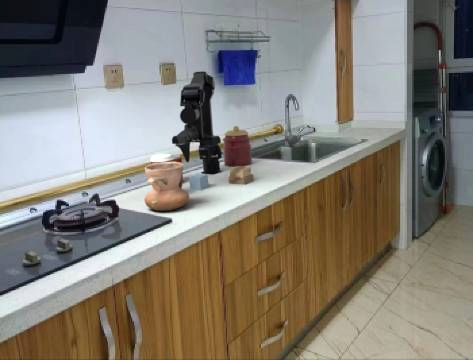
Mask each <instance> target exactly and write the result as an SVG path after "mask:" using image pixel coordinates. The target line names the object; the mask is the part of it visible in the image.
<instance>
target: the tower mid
mask: <svg viewBox="0 0 473 360" xmlns="http://www.w3.org/2000/svg"><path fill="white" fill-rule="evenodd" d="M251 167H252V166H233V167H231V168H229V171H228V173H229V177H238V178H244V177H246V176H249V175H251V174H252V168H251Z"/></svg>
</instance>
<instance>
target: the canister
mask: <svg viewBox="0 0 473 360" xmlns="http://www.w3.org/2000/svg"><path fill="white" fill-rule="evenodd" d="M249 134H250V133H249V132H248V131H246V130H245V129H240V127H239V126H237V125H234V126H233V127H232V130H227V131H226V132H225V133H224V134H223V136H224V137H223V138H222V141H223V147H222V148H223V163H224V166H227V167H237V166H242V167H245V166H248V165H251V164H252V162H253V161H252V160H253V159H252V157H253V156H252V144H251V141H250V140H251V139H252V138H251V136H249Z"/></svg>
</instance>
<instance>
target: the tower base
mask: <svg viewBox="0 0 473 360" xmlns="http://www.w3.org/2000/svg"><path fill="white" fill-rule="evenodd" d="M254 181H255V179H254V174H252V173H251V175H249V176H246V177H244V178H238V177H230V176H228V184H231V185H232V184H233V185H241V186H244V185H248V184H249V183H252V182H254Z"/></svg>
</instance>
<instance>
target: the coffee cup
mask: <svg viewBox="0 0 473 360" xmlns="http://www.w3.org/2000/svg"><path fill="white" fill-rule="evenodd" d="M172 155H173V154H171V153H159V154H153V155H150V160H149V162H150V164H155V163H162V162H173V159H174V158H173V157H172Z"/></svg>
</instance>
